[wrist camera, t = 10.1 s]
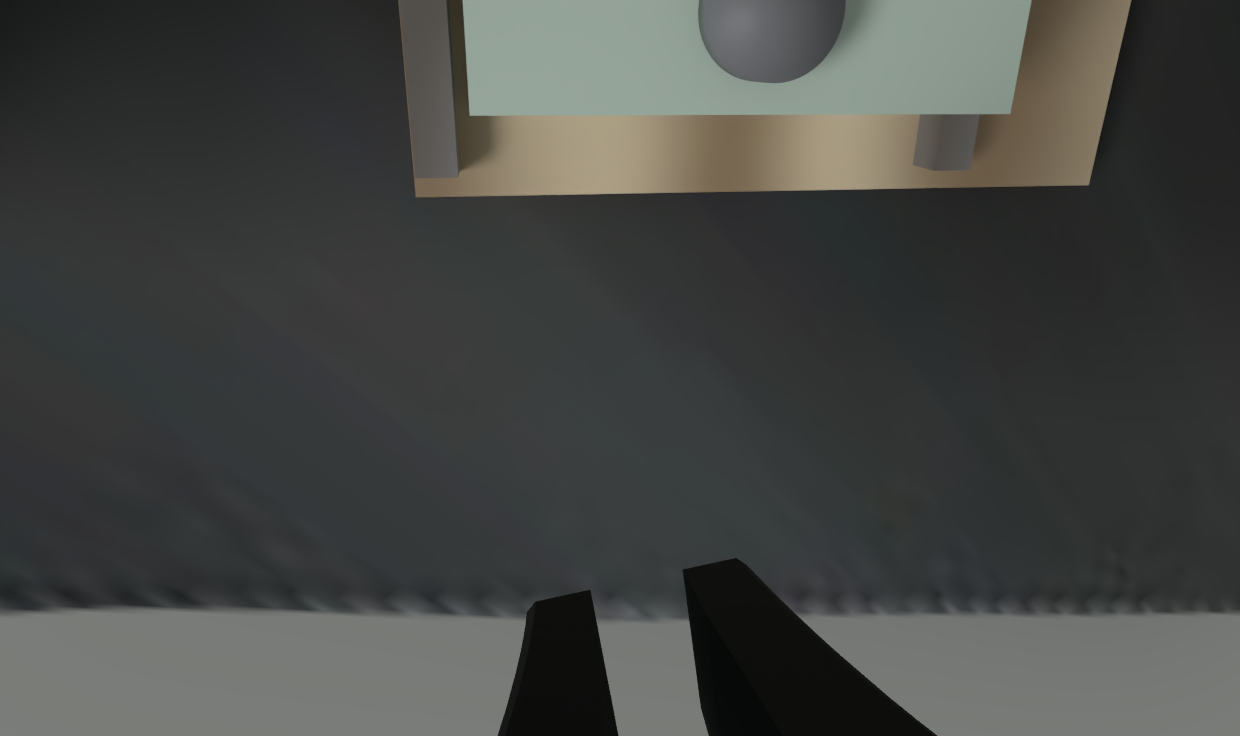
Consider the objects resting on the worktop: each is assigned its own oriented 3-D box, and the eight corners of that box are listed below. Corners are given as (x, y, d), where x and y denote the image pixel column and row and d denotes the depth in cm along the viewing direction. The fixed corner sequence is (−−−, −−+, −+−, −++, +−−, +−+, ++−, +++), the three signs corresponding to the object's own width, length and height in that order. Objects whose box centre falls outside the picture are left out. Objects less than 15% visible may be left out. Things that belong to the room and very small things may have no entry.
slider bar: (473, 102, 15) (468, 119, 11) (462, -75, 14) (452, -126, 10) (907, 102, 16) (1041, 117, 12) (930, -60, 15) (1084, -99, 11)
